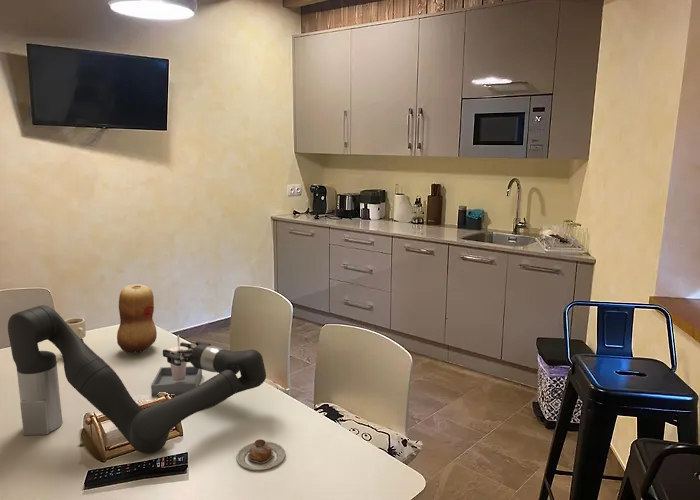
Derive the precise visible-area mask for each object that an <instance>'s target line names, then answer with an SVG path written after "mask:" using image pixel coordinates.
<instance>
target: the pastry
mask: <svg viewBox="0 0 700 500" xmlns="http://www.w3.org/2000/svg"><path fill="white" fill-rule="evenodd" d="M274 454H275V455H276V458H275V461H273V462H272V463H270V464H268V465H264V466H253V465H250V464H249V463H247V462H246V456H247V459H248V460H249V461H251V462H253V463H257V464H265V463H267V462H269V461H270V460H271V459H272V457H274ZM285 457H286V450H285V449H284V448H283V446H281V445H280V444H278V443H276V442H273V441H266V440H264V439H262V438H261V439H257V440H255V441H254V442H252V443H249V444H247V445H245V446H243V447H242V448H241V449H240V450H238V452H237V454H236V457H235V458H236V461H237V464H238V465H239V466H241V467H242V468H243V469H248V470H251V471H263V470H269V469H273V468H275V467H276V466H277V467H278V465H280V464H281V463H282V462H283V461H284V460H285Z"/></svg>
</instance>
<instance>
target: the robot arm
mask: <svg viewBox="0 0 700 500" xmlns="http://www.w3.org/2000/svg"><path fill="white" fill-rule="evenodd" d="M64 320H65V319H64V318H63V317H62V316H61V315H60V314H59V313H58V312H57V311H56V310H55V309H54V308H53V307H50V306H49V305H44V304H43V305H37V306H34V307H31V308H28V309H24V310H22V311H21V310H20V311H18V312H15V313H14V314H12V315H10V317H9V319H8V321H7V334H8V338H9V345H10V351H11V356H12V359H13V360H12V361H13V362H14V364H15V366H16V372H17V383H18V393H19V400H20V402H19V404H20V413H21V421H22V422H21V423H22V430H23V436H35V435H49V434H50V433H51V432H53V431H56V430H57V429H58V428H59V427H61V426H62V424H63V414H62V404H61V403H62V402H61V393H60V384H59V383H60V381H59V372H58V371H59V370H58V361H57V354H56V353H54V352H52V351H49V350H40V349H39V344H40V343H42V342H44V341H49V342H51V343H52V344H53V345H54V347H56V348H57V349H58V350H59V353H60V354H61V356H62V360H63V361H62V363H63V370H64V376H65V378H66V381H67V382H68V383H69V385H71V386H72V388H74V389H75V390H76V391H77V392H78V393H79V394H80V395H81V396H82V397H83V398H85V399H86V401H88V402H89V403H90V404H91V405H92V406H93V407H94V408H96V409H97V411H99V412H100V413H101V414H102V415H103V416H104V417H106V418H107V419H108V420H109V421H110V422H111V423H112V424H113V425H114V426H115V427H116V429H117V430H118V431H119V432H120V433H121V435H122V437H124V439H126V441H127V442H128V443H129V444H130V446H131V447H132V448H133V449H134V450H136V451H137V452H139V453H140V454H141V453H142V454H145V455H146V454H147V455H151V454H155V453H158V452H160V451H161V450H162V449H163V448H164V447H165V445H166V444H167V441H168V438H169V435H170V431H172V429H174V428H175V427H176V426H178V425H179V424H180V423H181V422H182V421H184V420H185V419H187V418H188V417H191V416H192V415H194V414H196V413H199V412H202V411H205V410H208V409H210V408H213V407H215V406H217V405H219V404H221V403H222V402H224V401H226V400H227V399H229V398H230V397H232V396H234V395H236V394H238V393H241V392H244V391H247V390H251V389H252V390H253V389H255V388H258V387H259V386H261V385H262V384H264V382H265V381H266V378H267V372H266V368H265V367H266V366H265V364H264V363H265V361H264V358H263V355H262V353H260V352H259V351H258V350H256V349H245V350H237V351H235V350H234V351H233V350H229V349H225V348H222V347H220V346H216V345H215V346H214V345H212V344H211V343H210V342H202V341H195V343H192V342H191V343H187V342H183V341H182V342H179V343H180V346H184V347H187V348H188V349H187V350H178V351H170V350H168V349H162V357H164V358H166V360H167V361H166V363H168V364H170V363H171V364H173V365H176V366H180V365H181V362H187V363H190V364H191V365H192V366H194V367H195V368H198V369H202V371H206V372H210V373H215V374H216V373H217V374H216V375H214V376H212V377H211V378H209V379H207V380H206V381H204V382H202V383H200V384H199V385H198V386H197V387H195V388H193V389H191V390H189V391H187V392H185V393H183V394H180V395H175V396H174V397H172V398H169V399H166V400H164V401H161V402H159V403H155V404H153V405H151V406H149V407H146V408H143V407H141V406H140V405H139V404H138V402H136V401H135V399H133V397H132V396H131V394H130V392H129V391H128V389H127V387H126V385H125V384H124V382H123V380H121V378H120V376H119V375H118V374H117V373H116V371H115V370H114V369H113V368H112V367H111V366H110V365H109V364H108V363H107V362H106V361H105V360H104V359H102V357H100V356H99V355H98V354H97V353H95V352H94V351H93V349H91V348H90V347H89V346H88V345H87V344H86V343H85V341H84V340H83V341H84V342H83V341H82V340H81V339H80V338H79V337H78V336H77V335H76V334H75V333H74V331H73V330H72V329H71V328H70V327H69V326H68V324H67V323H66V322H65V321H64ZM181 353H182V356H183V358H181ZM174 354H177V356H176V355H174ZM238 373H240V376H239V377H238V376H237V374H238Z"/></svg>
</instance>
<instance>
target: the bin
mask: <svg viewBox="0 0 700 500" xmlns="http://www.w3.org/2000/svg"><path fill="white" fill-rule="evenodd" d="M202 377H203V370H202V369H198V368H195V367H194V366H193V365H192V366H191V365H190V366H186V375H185V379H184V380H181V381H174V380H173V376H172V371H171V366H168V367H167V366H163V367H162V366H161V367H160V368H159V369H158V372H157V374H156V376H155V377H154V379H153V381H152V383H151V384H150V388H151V391H150V392H151V397H155V396H154V395H157V394H158V393H159V392H166V393H168V394H170V395H169V396H172V395H171V394H175V395H174V396H178V395H180V394H183V393H185V392H187V391H189V390H191V389H193V388H195V387H197V386H198V385H200V384H201V381H202Z"/></svg>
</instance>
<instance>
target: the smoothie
mask: <svg viewBox="0 0 700 500" xmlns="http://www.w3.org/2000/svg"><path fill="white" fill-rule="evenodd" d="M176 336H177V346H173V347H170V348H168V349H167V350H170V351H178V350H187V349H188V348H187V347H184V346H180V343H181V342H180V335H179V334H177V335H176ZM174 355H176V356H177V354H174ZM181 358H183V356H182V353H181ZM187 363H188V362H181V365H180V366H176V365H173V364H171V363H169V365H170V367H171V371H172V376H173V380H174V381H181V380H184V379H185V375H186V367H187Z"/></svg>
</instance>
